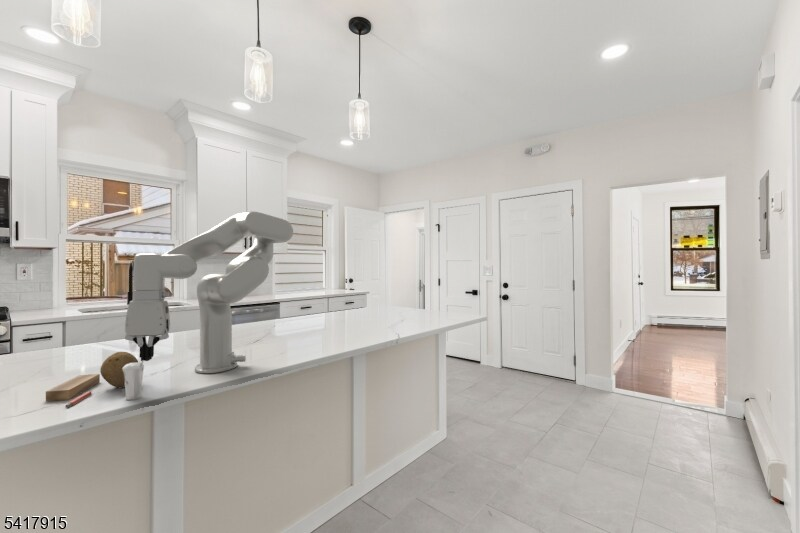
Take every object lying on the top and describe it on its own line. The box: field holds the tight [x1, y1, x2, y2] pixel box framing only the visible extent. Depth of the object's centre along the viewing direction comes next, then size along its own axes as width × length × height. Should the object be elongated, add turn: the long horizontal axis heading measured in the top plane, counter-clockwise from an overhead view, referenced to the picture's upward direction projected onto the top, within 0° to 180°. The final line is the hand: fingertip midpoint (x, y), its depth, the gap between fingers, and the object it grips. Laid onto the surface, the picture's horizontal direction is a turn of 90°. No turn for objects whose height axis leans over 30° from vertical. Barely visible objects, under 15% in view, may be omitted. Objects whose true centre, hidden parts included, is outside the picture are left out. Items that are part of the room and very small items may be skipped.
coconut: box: [99, 351, 139, 388], centre depth 103 cm, size 9×9×10 cm
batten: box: [45, 373, 101, 402], centre depth 100 cm, size 5×14×2 cm, turn 14°
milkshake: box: [122, 360, 145, 401], centre depth 94 cm, size 4×5×10 cm
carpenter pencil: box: [64, 391, 92, 409], centre depth 92 cm, size 1×9×1 cm, turn 14°
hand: (146, 359), depth 104 cm, fingers closed
